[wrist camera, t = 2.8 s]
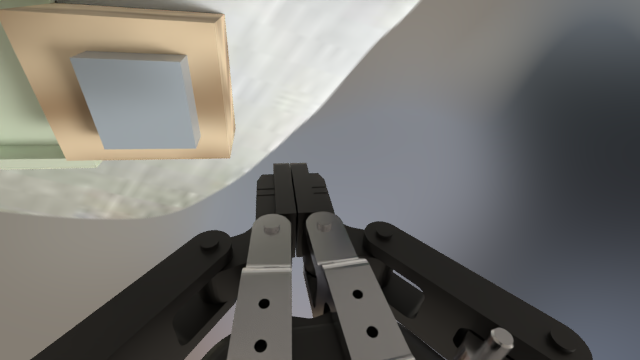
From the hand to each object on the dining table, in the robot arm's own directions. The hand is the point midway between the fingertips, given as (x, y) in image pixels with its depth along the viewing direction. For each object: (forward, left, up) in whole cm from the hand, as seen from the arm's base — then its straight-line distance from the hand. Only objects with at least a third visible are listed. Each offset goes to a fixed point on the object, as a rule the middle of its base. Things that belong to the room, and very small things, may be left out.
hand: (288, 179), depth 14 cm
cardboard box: (0, -10, -17) cm, 20 cm away
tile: (0, -9, -11) cm, 14 cm away
